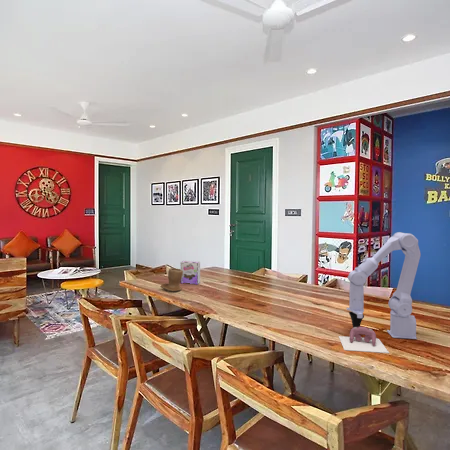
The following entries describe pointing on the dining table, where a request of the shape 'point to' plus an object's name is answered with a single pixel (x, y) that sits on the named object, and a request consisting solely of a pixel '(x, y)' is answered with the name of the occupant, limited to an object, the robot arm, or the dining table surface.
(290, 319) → the dining table surface
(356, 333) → the video game controller
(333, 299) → the dining table surface
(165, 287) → the brown hat
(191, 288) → the dining table surface
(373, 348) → the mat
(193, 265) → the candy box
